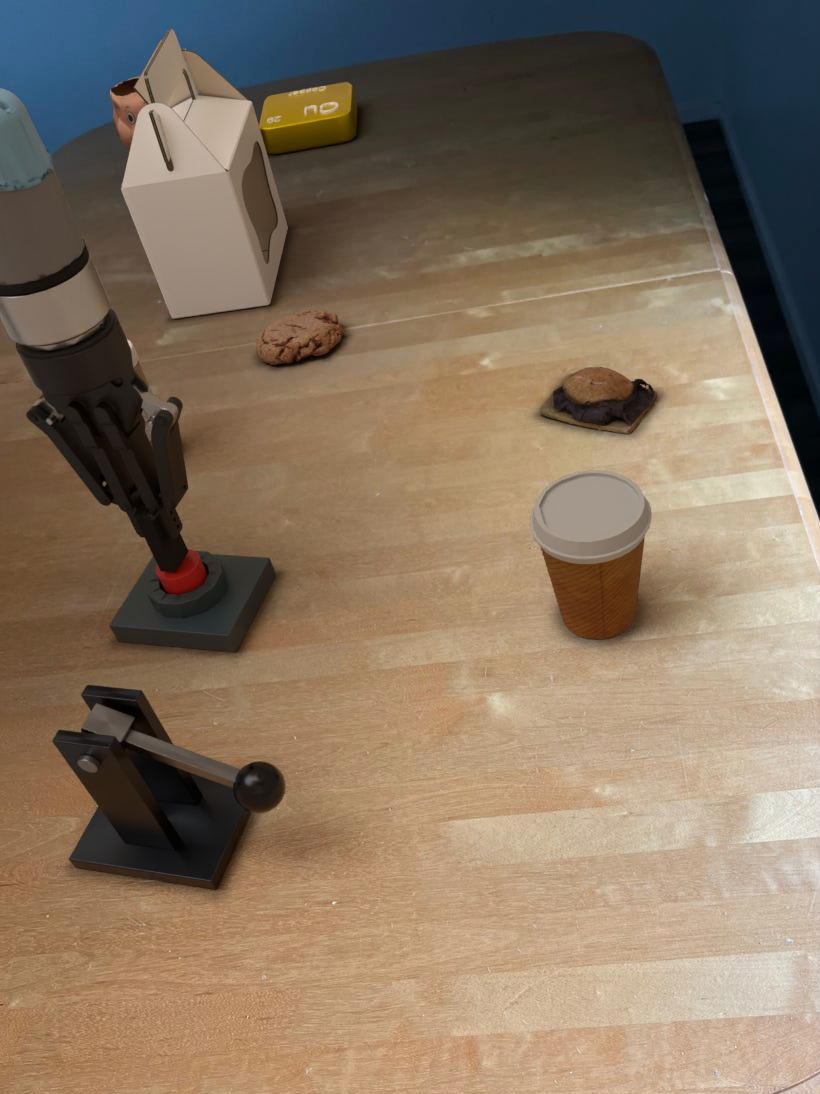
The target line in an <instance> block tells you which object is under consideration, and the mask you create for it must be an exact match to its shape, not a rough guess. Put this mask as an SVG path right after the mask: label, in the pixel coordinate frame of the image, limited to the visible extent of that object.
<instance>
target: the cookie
mask: <svg viewBox="0 0 820 1094" xmlns="http://www.w3.org/2000/svg"><path fill="white" fill-rule="evenodd" d="M343 335H344V328H343V327H342V325H340V324H339V318H338V315H337V314H336V313H335V312H332V311H329V310H325V309H321V310H317V309H314V308H312V309H311V308H309V309H303V310H302V311H301V312H295V313H292V314H289V315H288V316H285V317H282V318H279V319H277V320H275V321H274V322H272V323H271V324H270V325H268V327H266V329H263V330H262V331H261V332H260V333H259V336H258V337H257V339H256V351H257V355H258V358H259V359H260V360H261V362H263V363H266V364H269V365H275V366H276V365H281V364H282V365H283V364H290V363H293V362H299V361H302V359H305V358H307V357H309V356H312V355H313V356H316V357H317V356H322V355H325V354H328V353H329V352H330V351H331V350H332V349H333V348H334V347H335V346H336V345H337V344H339V343H340V342H341V340H342V339H343Z"/></svg>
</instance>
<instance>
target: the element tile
mask: <svg viewBox="0 0 820 1094" xmlns="http://www.w3.org/2000/svg"><path fill="white" fill-rule="evenodd" d="M353 87H354V86H353V85H352V83H350V82H349V81H344V82H337V83H332V84H331V83H330V84H327V85H321V86H315V87H309V88H303V89H300V90H293V91H287V92H281V93H276V94H271V95H268V96H267V97H266V98H265V99H264V101H263V105H262V110H261V115H260V120H259V123H258V124H259V128H260V131H261V135H262V138H263V142H264V145H265V149H266V152H267V155H272V156H273V155H275V156H276V155H282V154H288V153H294V152H300V151H305V150H310V149H311V150H312V149H316V148H321V147H328V146H334V145H339V144H344V143H348V142H351V141H352V140H354V139H355V138H356V136H357V128H358V127H357V123H358V106H357V101H356V97H355V91H354V88H353Z"/></svg>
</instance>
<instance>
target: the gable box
mask: <svg viewBox="0 0 820 1094" xmlns="http://www.w3.org/2000/svg"><path fill="white" fill-rule="evenodd" d="M139 76H140V77H139ZM139 76H138V77H139V79H138V81H137V83H136V84H135V86H134V88H133V89H134V90H135V91H136V92H137V93H138V94H139V96H140V97H141V98H142V99H143V100H144V101H145V103H146V104H147V105H146V106H145V107H143V108H142V109H141V110H140V112H139V114H138V117H137V121H136V126H135V130H134V134H133V139H132V143H131V148H130V150H129V152H128V157H127V162H126V167H125V170H124V175H123V180H122V183H121V185H120V190H121V193H122V197H123V199H124V202H125V204H126V206H127V208H128V211H129V214H130V216H131V219H132V221H133V224H134V226H135V229H136V232H137V234H138V236H139V240H140V242H141V244H142V247H143V249H144V252H145V254H146V257H147V259H148V262H149V264H150V267H151V269H152V272H153V275H154V277H155V280H156V282H157V284H158V288H159V289H160V292H161V295H162V297H163V299H164V303H165V306H166V308H167V310H168V313H169V315H170V318H171V319H173V320H178V319H183V318H190V317H198V316H205V315H210V314H211V315H212V314H218V313H224V312H233V311H238V310H239V311H240V310H247V309H253V308H259V307H266V306H270V305H271V303H272V302H271V301H272V298H273V294H274V290H275V286H276V281H277V275H278V273H279V268H280V263H281V260H282V254H283V250H284V247H285V243H286V237H287V233H288V229H289V226H288V224H287V220H286V216H285V213H284V209H283V205H282V202H281V198H280V195H279V191H278V188H277V184H276V181H275V177H274V173H273V171H272V166H271V162H270V160H269V156H268V153H267V152H266V149H265V145H264V142H263V138H262V135H261V131H260V128H259V124H260V123H259V121H258V118H257V114H256V110H255V107H254V103H253V102H252V101H251V100H250V99H249V98H248V97H246V96H245V94H243V93H242V92H241V91H240V90H239V89H238V88H236V87H235V86H234V85H233V84H232V83H231V82H230V81H229V80H228V79H226V78H225V76H223V75H222V74H221V73H220V72H219V71H218V70H217V69H215V68H214V66H212V64H210V63H209V62H208V61H207V60H205V59H204V57H202V56H201V55H200V54H199V53H198V52H195V51H192V50H188V49H187V48H186V47H183V48H181V45H180V43H179V40H178V36H177V35H176V33H175V30H174V29H172V28H171V29H167V31H166V33H165V34H164V36H163V38H162V39H160V41H159V42H158V44H157V46H156V47H155V49H154V51H153V52H152V55H151V56H150V57H149V59H148V62H147V63H146V65H145V66H144V68H143V70H142V72H141V74H140V75H139ZM199 94H200V95H199Z"/></svg>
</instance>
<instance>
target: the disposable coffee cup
mask: <svg viewBox="0 0 820 1094" xmlns="http://www.w3.org/2000/svg"><path fill="white" fill-rule="evenodd" d="M652 513H653V512H652V507H651V505H650V502H649V500H648V499H647V497H645V495H644V492H643V491H642V489H641V487H640V486H639V485H638V484H637V483H636V482H634V481H633V480H632V479H631V478H630V477H627V476H625V475H623V474H620V473H618V472H613V471H609V470H602V469H601V470H600V469H588V470H581V471H575V472H572V473H568V474H565V475H563V476H561V477H559V478H557V479H555V480H553V481H552V482H549V483H548V485H546V486H545V487H544V488H543V489H542V490H541V491H540V492H539V494H538V495H537V497H536V499H535V502H534V505H533V508H532V510H531V513H530V516H529V524H528V525H529V530H530V532H531V536H532V538H533V539H534V540H535V542H536V543H537V545H538V546H539V547H540V550H541V553H542V556H543V560H544V563H545V567H546V569H547V573H548V576H549V579H550V583H551V586H552V589H553V593H554V596H555V599H556V603H557V605H558V609H559V612H560V616H561V619H562V623H563V624H564V627H566V628H567V629H568V631H569V632H571V633H572V634H574V635H575V636H577V637H581V638H585V639H587V640H603V639H609V638H613V637H615V636H618V635H620V634H621V633H623V632H625V631H626V630H628V629H629V628H630V626H631V625H632V624H633V622H634V620H635V618H636V615H637V611H636V610H637V605H638V595H639V589H640V588H639V587H640V581H641V571H642V563H643V556H644V547H645V540H646V539H645V538H646V534H647V532H648V530H649V529H650V527H651V523H652V518H653V517H652V516H653V514H652Z"/></svg>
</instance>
